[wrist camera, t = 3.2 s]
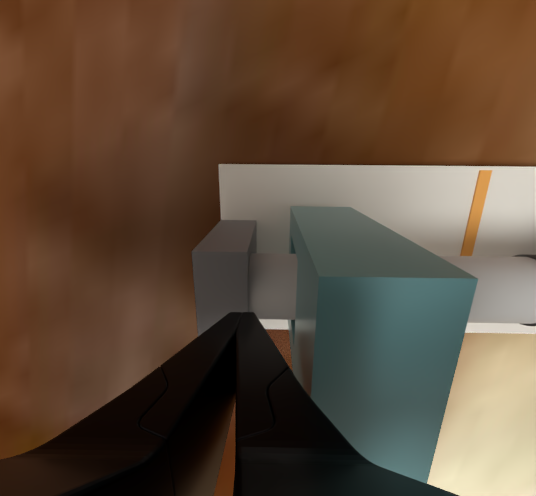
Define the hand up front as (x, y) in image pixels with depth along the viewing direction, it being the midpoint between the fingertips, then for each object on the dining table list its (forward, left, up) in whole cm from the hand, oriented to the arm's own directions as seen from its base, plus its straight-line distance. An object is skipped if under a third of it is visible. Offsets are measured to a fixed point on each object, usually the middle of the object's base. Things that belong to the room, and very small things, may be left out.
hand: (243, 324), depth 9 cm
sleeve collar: (+3, 0, -6) cm, 7 cm away
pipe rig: (+8, 0, -9) cm, 12 cm away
